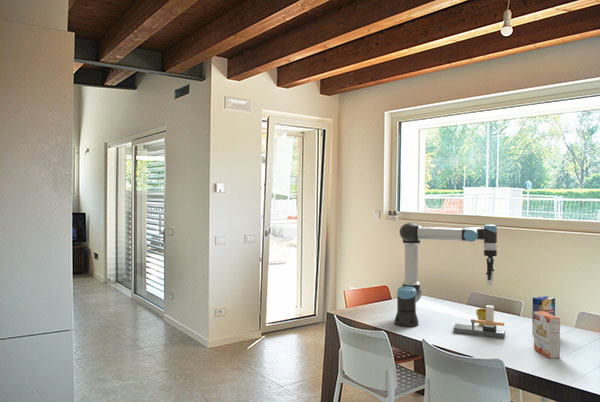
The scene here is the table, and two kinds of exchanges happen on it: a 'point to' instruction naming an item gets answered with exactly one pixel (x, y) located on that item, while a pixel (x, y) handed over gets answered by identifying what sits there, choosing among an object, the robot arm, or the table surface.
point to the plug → (489, 315)
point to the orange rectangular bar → (485, 322)
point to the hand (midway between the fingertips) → (490, 283)
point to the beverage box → (543, 306)
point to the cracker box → (547, 334)
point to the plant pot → (481, 315)
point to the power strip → (479, 331)
